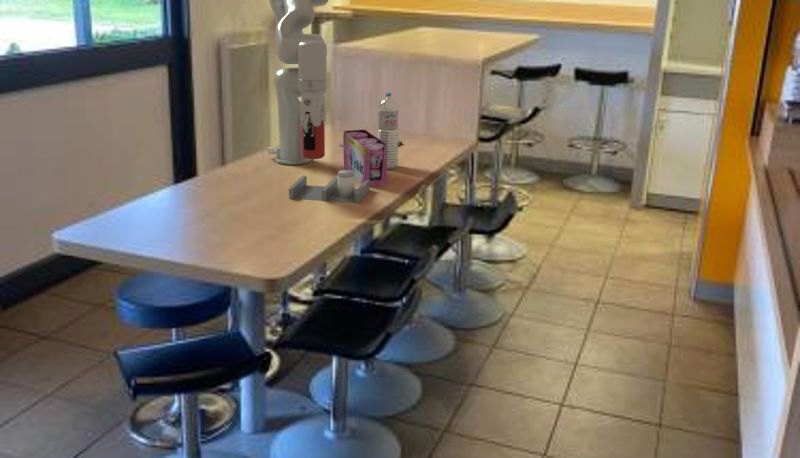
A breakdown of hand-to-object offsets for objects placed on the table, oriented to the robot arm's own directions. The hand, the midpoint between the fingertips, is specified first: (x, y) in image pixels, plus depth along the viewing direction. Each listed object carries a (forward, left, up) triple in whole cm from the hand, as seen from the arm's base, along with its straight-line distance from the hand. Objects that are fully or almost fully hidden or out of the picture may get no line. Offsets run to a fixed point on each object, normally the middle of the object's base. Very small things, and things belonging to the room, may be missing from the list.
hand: (313, 146), depth 235 cm
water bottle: (+15, +38, -15) cm, 44 cm away
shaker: (+10, 0, -14) cm, 17 cm away
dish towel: (+3, +67, -16) cm, 69 cm away
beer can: (0, 0, -3) cm, 3 cm away
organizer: (+5, 0, -15) cm, 16 cm away
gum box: (+10, +22, -15) cm, 29 cm away
